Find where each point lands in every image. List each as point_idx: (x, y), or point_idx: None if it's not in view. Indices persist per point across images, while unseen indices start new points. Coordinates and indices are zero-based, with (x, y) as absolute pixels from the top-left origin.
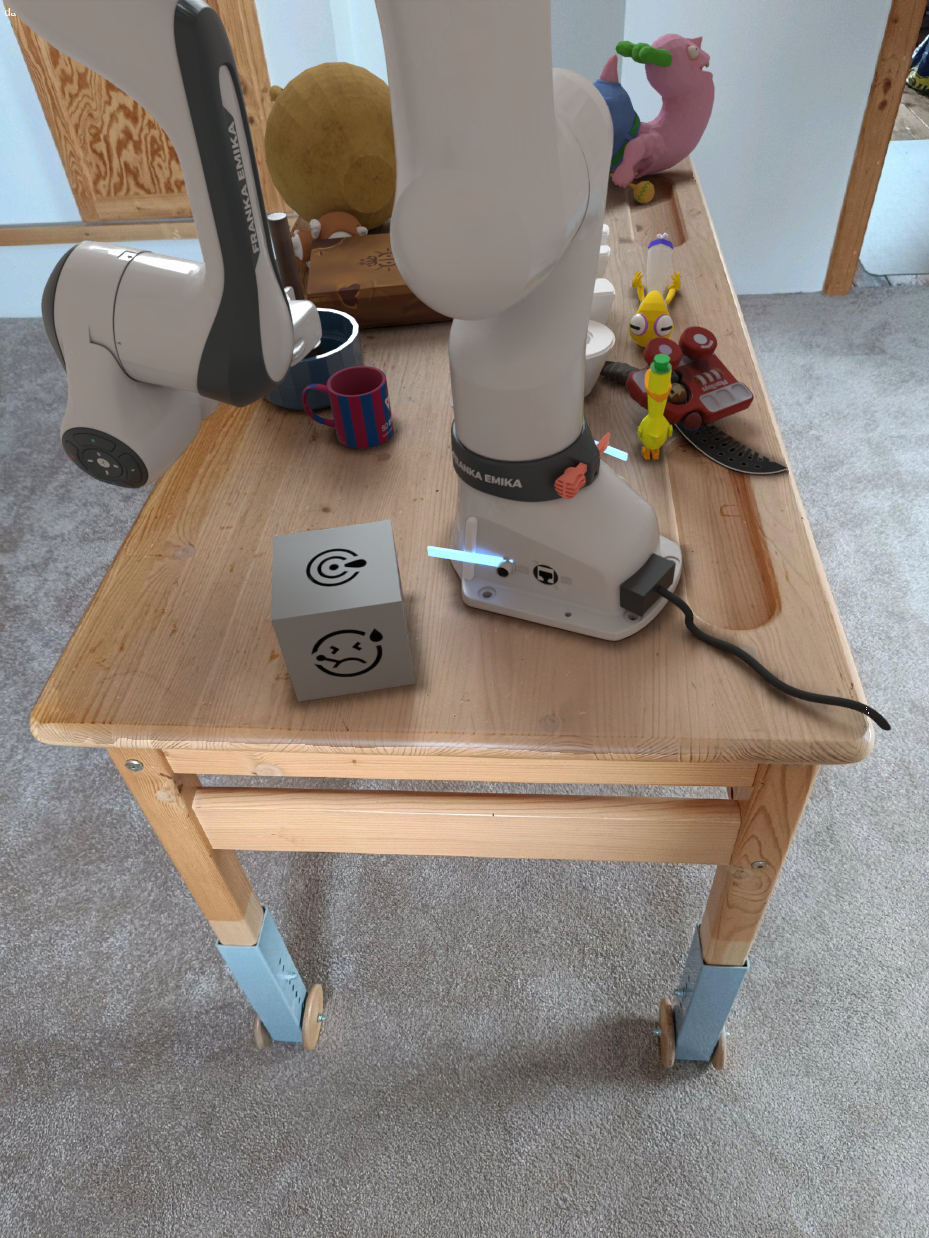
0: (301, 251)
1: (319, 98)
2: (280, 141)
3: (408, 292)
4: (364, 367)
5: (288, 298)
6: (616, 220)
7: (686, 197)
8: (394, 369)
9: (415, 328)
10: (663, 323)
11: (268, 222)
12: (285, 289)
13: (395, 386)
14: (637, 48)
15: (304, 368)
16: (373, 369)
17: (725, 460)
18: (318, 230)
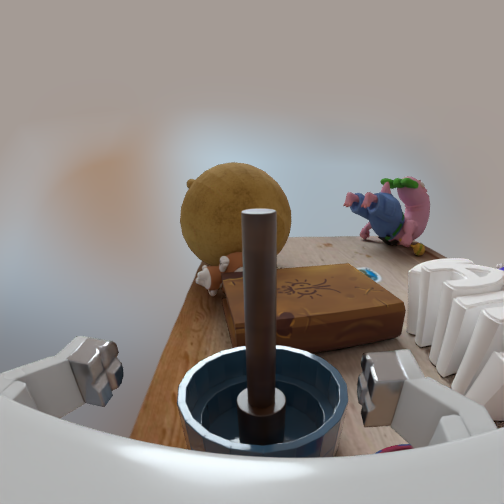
0: (209, 281)
1: (230, 175)
2: (196, 203)
3: (345, 319)
4: (400, 448)
5: (471, 401)
6: (414, 263)
7: (435, 253)
8: (355, 409)
9: (343, 353)
10: None
11: (245, 218)
12: (405, 361)
13: (373, 435)
14: (397, 179)
15: (287, 457)
16: None
17: None
18: (227, 264)
